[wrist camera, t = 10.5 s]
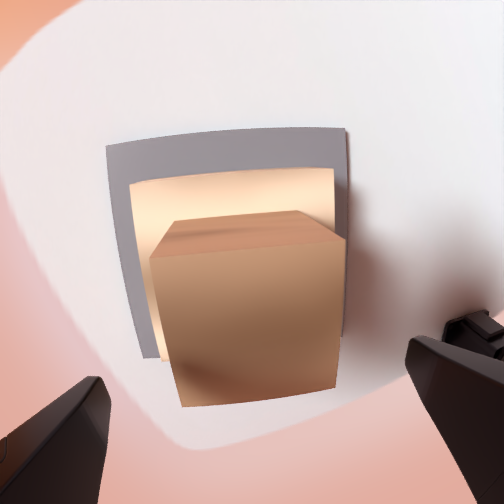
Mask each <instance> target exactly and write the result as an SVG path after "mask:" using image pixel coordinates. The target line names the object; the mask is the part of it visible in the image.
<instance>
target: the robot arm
mask: <svg viewBox="0 0 504 504" xmlns="http://www.w3.org/2000/svg"><path fill="white" fill-rule="evenodd" d="M405 366H406V369H407V371H408V373H409V375H410V377H411V379H412V381H413V383H414V386H415V388H416V390H417V392H418V394H419V397H420V399H421V401H422V403H423V405H424V406H425V408H426V410H427V412H428V413H429V415H430V417H431V419H432V420H433V422H434V424H435V425H436V427H437V429H438V431H439V432H440V434H441V436H442V438H443V439H444V441H445V443H446V444H447V447H448V448H449V450H450V452H451V453H452V455H453V457H454V459H455V461H456V463H457V465H458V467H459V468H460V470H461V472H462V474H463V476H464V478H465V480H466V482H467V484H468V486H469V488H470V490H471V492H472V494H473V495H474V498H475V499H476V501H477V504H504V327H503V326H502V325H500V324H499V323H497V322H496V321H495V320H493V319H492V318H490V317H489V311H487V310H482V311H479V312H476V313H473V314H469V315H466V316H464V317H461V318H457V319H454V320H451V321H448V322H447V324H446V325H445V329H444V333H443V337H442V341H438V340H435V339H432V338H429V337H426V336H417V337H414V338H412V339H410V341H409V344H408V349H407V353H406V358H405ZM110 412H111V399H110V396H109V393H108V391H107V389H106V386H105V384H104V381H103V380H102V378H101V377H99V376H87V377H86V378H84V379H83V380H82V381H80V382H79V383H77V384H76V385H75V386H73V387H72V388H71V389H69V390H68V391H67V392H66V393H64V394H63V395H61V396H60V397H58V398H57V399H56V400H54V401H53V402H52V403H50V404H49V405H48V406H46V407H45V408H43V409H42V410H41V411H39V412H38V413H37V414H35V415H34V416H33V417H31V418H30V419H29V420H27V421H26V422H24V423H23V424H22V425H20V426H19V427H18V428H16V429H15V430H14V431H12V432H11V433H9V434H8V435H7V437H4V438H2V439H1V440H0V504H97V503H98V496H99V490H100V484H101V478H102V473H103V467H104V462H105V457H106V451H107V444H108V432H109V421H110Z"/></svg>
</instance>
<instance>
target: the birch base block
mask: <svg viewBox="0 0 504 504" xmlns="http://www.w3.org/2000/svg"><path fill="white" fill-rule="evenodd" d="M129 187H130V196H131V204H132V212H133V220H134V227H135V234H136V241H137V247H138V253H139V259H140V265H141V271H142V276H143V282H144V287H145V292H146V297H147V302H148V306H149V311H150V316H151V320H152V325H153V329H154V333H155V337H156V342H157V346H158V350H159V354H160V357H161V361H162V362H163V361H170V360H169V356H168V351H167V347H166V343H165V339H164V334H163V330H162V325H161V321H160V316H159V311H158V306H157V301H156V296H155V291H154V285H153V280H152V274H151V268H150V262H149V257H150V256H151V254H152V253H153V251H154V250H155V248H156V247H157V245H158V244H159V242H160V241H161V239H162V238H163V236H164V235H165V233H166V232H167V230H168V229H169V227H170V226H171V225H172V223H173V222H174V221H177V220H187V219H197V218H207V217H218V216H229V215H240V214H252V213H265V212H278V211H292V210H298V211H300V212H301V213H303V214H305V215H306V216H308V217H309V218H311V219H313V220H314V221H316V222H318V223H319V224H321V225H322V226H324V227H326V228H327V229H329V230H330V231H332V232H334V233H335V202H334V169H332V168H319V167H291V168H270V169H253V170H238V171H226V172H214V173H203V174H193V175H183V176H174V177H166V178H158V179H150V180H145V181H141V182H137V183H134V184H130V185H129Z"/></svg>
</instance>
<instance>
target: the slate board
mask: <svg viewBox="0 0 504 504" xmlns="http://www.w3.org/2000/svg"><path fill="white" fill-rule="evenodd" d="M106 157H107V169H108V179H109V189H110V197H111V205H112V213H113V220H114V227H115V233H116V239H117V245H118V251H119V257H120V262H121V267H122V273H123V278H124V282H125V287H126V292H127V296H128V301H129V305H130V309H131V314H132V318H133V322H134V326H135V330H136V333H137V337H138V341H139V345H140V348H141V352H142V355H143V358H161V357H160V354H159V350H158V346H157V342H156V337H155V333H154V329H153V325H152V320H151V316H150V311H149V306H148V302H147V297H146V292H145V287H144V282H143V276H142V271H141V265H140V259H139V253H138V247H137V241H136V234H135V227H134V220H133V212H132V204H131V196H130V187H129V185H130V184H134V183H137V182H141V181H145V180H150V179H158V178H166V177H174V176H183V175H193V174H203V173H214V172H226V171H238V170H253V169H270V168H291V167H319V168H332V169H334V202H335V234H337V235H338V236H340V237H342V238H343V239H345V273H344V295H343V311H342V325H341V337H342V335H343V322H344V309H345V293H346V273H347V240H348V188H347V156H346V136H345V128H319V127H290V128H256V129H237V130H223V131H210V132H200V133H190V134H181V135H172V136H165V137H157V138H150V139H143V140H137V141H131V142H125V143H119V144H113V145H108V146H106Z"/></svg>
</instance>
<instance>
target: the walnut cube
mask: <svg viewBox="0 0 504 504" xmlns="http://www.w3.org/2000/svg"><path fill="white" fill-rule="evenodd" d="M149 262H150V268H151V274H152V280H153V285H154V291H155V296H156V301H157V306H158V311H159V316H160V321H161V325H162V330H163V334H164V339H165V343H166V347H167V351H168V356H169V360H170V364H171V368H172V372H173V375H174V379H175V383H176V387H177V390H178V394H179V398H180V401H181V405H182V407H195V406H210V405H223V404H234V403H243V402H252V401H260V400H268V399H275V398H282V397H288V396H294V395H300V394H306V393H311V392H317V391H322V390H327V389H332V388H335V385H336V377H337V368H338V359H339V348H340V337H341V325H342V311H343V295H344V273H345V239H343V238H342V237H340V236H338V235H337V234H335V233H334V232H332V231H330V230H329V229H327V228H326V227H324V226H322V225H321V224H319V223H318V222H316V221H314V220H313V219H311V218H309V217H308V216H306V215H305V214H303V213H301V212H300V211H298V210H292V211H278V212H265V213H252V214H240V215H229V216H218V217H207V218H197V219H187V220H177V221H174V222H173V223H172V225H171V226H170V227H169V229H168V230H167V232H166V233H165V235H164V236H163V238H162V239H161V241H160V242H159V244H158V245H157V247H156V248H155V250H154V251H153V253H152V254H151V256H150V257H149Z"/></svg>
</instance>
